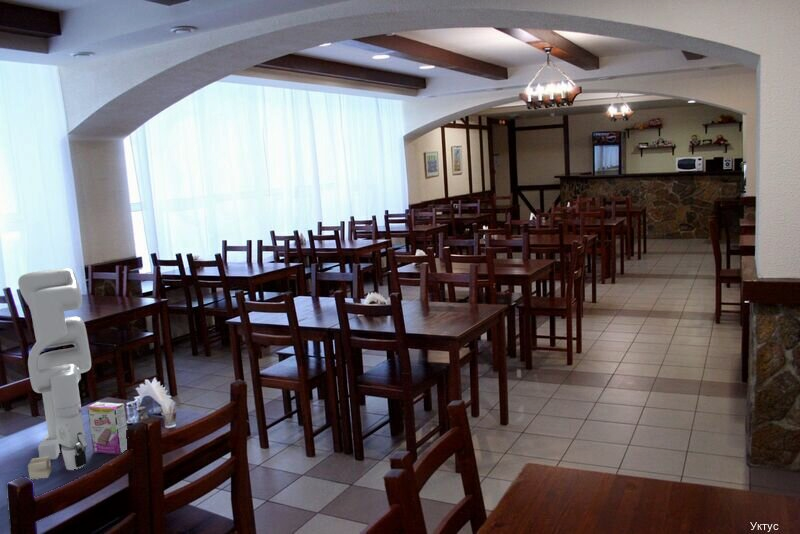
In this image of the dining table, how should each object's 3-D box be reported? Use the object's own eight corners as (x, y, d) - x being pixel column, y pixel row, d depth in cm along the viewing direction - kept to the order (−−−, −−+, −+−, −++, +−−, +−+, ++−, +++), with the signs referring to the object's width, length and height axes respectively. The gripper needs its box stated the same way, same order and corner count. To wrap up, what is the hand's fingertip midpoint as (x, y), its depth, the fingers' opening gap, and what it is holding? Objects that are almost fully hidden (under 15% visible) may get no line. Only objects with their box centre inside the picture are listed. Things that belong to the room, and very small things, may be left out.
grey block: (43, 455, 223) (41, 441, 222) (60, 452, 224) (58, 438, 223) (40, 461, 218) (37, 447, 217) (56, 459, 219) (54, 444, 218)
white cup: (78, 471, 209) (75, 450, 208) (59, 470, 210) (56, 449, 209) (92, 461, 215) (89, 441, 214) (73, 460, 217) (70, 440, 216)
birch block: (34, 473, 209) (32, 458, 209) (51, 470, 211) (49, 455, 210) (30, 480, 205) (27, 465, 204) (47, 477, 206) (45, 462, 205)
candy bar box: (92, 453, 222) (86, 406, 219) (102, 446, 227) (96, 401, 224) (121, 455, 219) (114, 408, 216) (130, 449, 224) (125, 402, 221)
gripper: (42, 408, 212) (50, 461, 215) (70, 419, 202) (78, 474, 205) (65, 401, 218) (72, 452, 221) (94, 410, 208) (101, 464, 211)
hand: (75, 462), depth 213 cm, fingers closed on white cup, 6 cm apart
